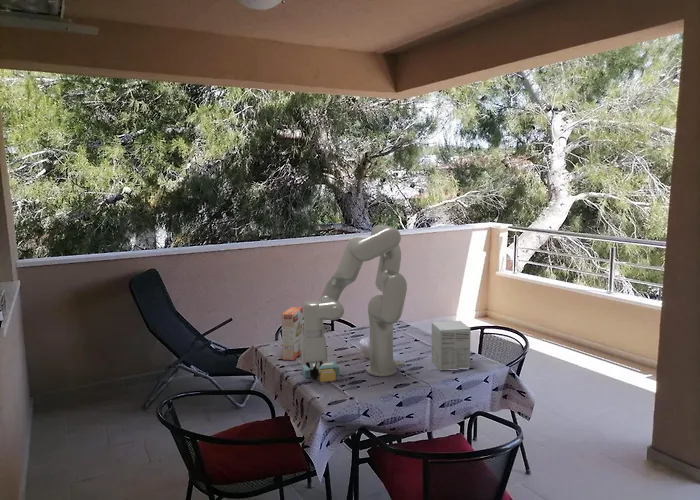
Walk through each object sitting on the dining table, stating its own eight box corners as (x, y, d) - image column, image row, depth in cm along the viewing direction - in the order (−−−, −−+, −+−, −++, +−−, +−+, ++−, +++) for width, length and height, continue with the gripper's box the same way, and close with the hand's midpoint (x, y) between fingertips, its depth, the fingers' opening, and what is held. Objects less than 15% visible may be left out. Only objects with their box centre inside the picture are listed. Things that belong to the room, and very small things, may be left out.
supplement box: (470, 370, 222) (471, 328, 219) (439, 371, 220) (439, 330, 218) (460, 359, 235) (460, 320, 233) (430, 361, 233) (431, 321, 231)
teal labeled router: (335, 368, 226) (334, 360, 225) (339, 374, 218) (339, 367, 218) (301, 371, 222) (301, 364, 222) (305, 378, 215) (304, 370, 214)
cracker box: (295, 361, 235) (294, 314, 232) (281, 360, 236) (280, 313, 234) (304, 351, 249) (303, 306, 246) (291, 350, 250) (290, 306, 247)
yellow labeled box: (332, 376, 217) (332, 368, 216) (335, 380, 212) (335, 372, 211) (318, 377, 215) (318, 370, 215) (320, 382, 210) (320, 374, 210)
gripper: (330, 328, 215) (331, 373, 218) (292, 331, 212) (294, 376, 214) (334, 333, 208) (335, 379, 210) (295, 337, 204) (297, 383, 207)
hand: (314, 378), depth 212 cm, fingers closed
